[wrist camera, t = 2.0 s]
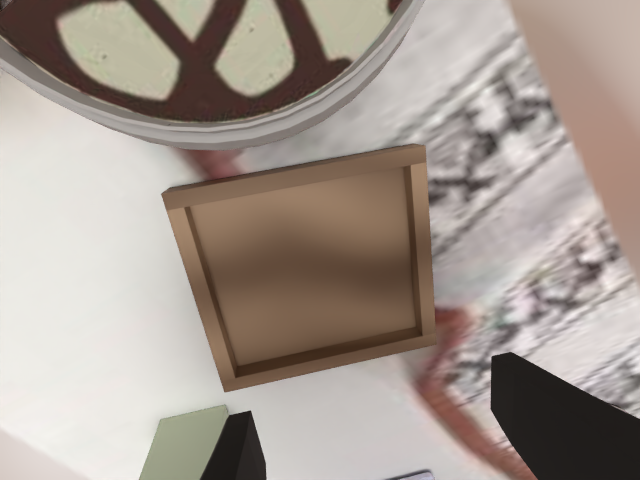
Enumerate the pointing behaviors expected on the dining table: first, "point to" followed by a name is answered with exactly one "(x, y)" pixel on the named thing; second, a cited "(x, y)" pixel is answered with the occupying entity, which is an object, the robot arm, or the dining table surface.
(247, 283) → the walnut tray
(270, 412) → the dining table surface
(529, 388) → the robot arm
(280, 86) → the food container
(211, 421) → the sage block
